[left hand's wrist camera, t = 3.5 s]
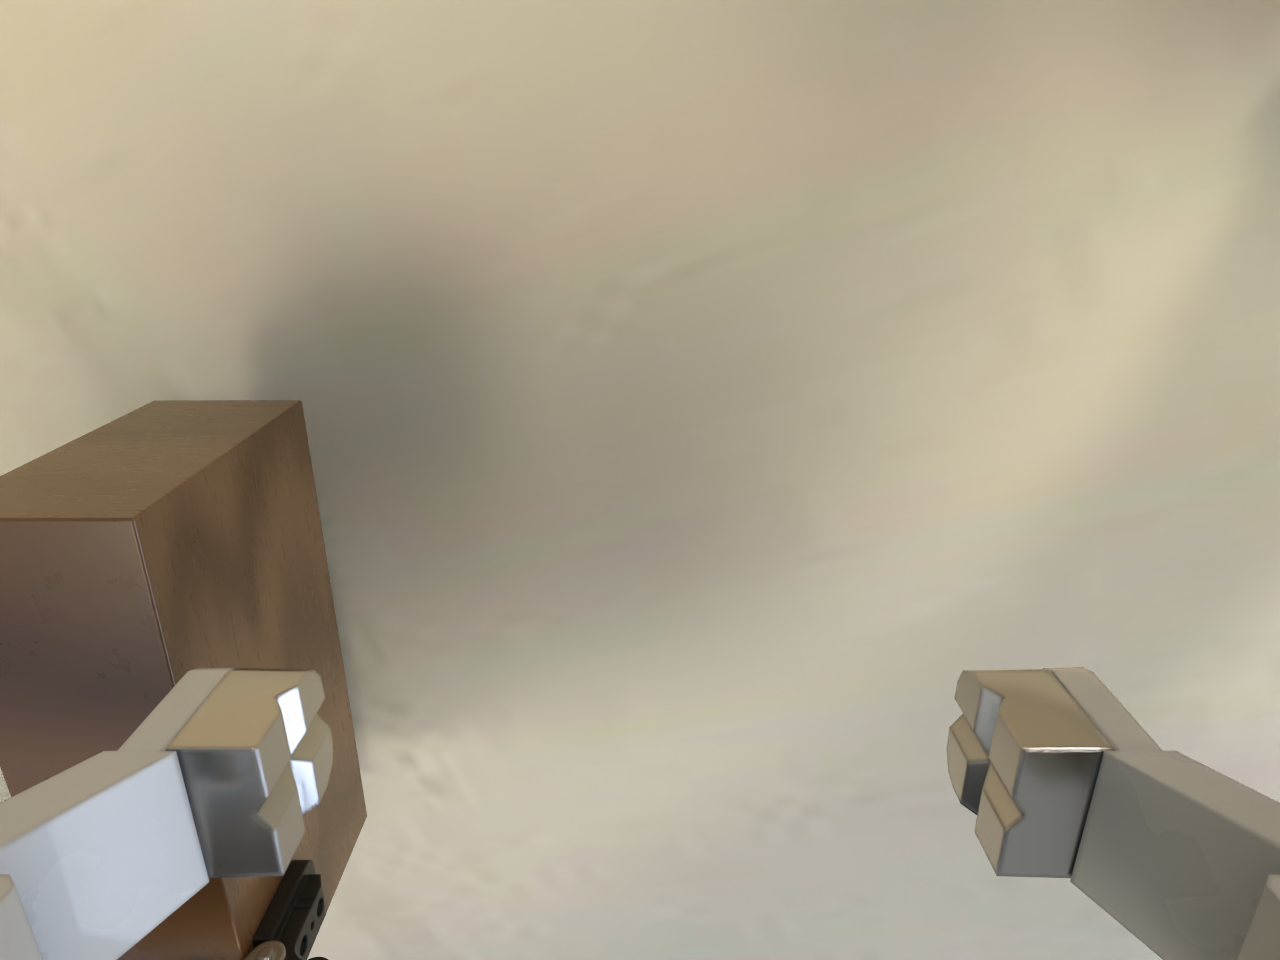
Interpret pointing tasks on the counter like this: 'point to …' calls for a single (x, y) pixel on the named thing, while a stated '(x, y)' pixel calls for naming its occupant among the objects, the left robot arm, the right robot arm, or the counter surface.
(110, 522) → the box
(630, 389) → the counter surface
